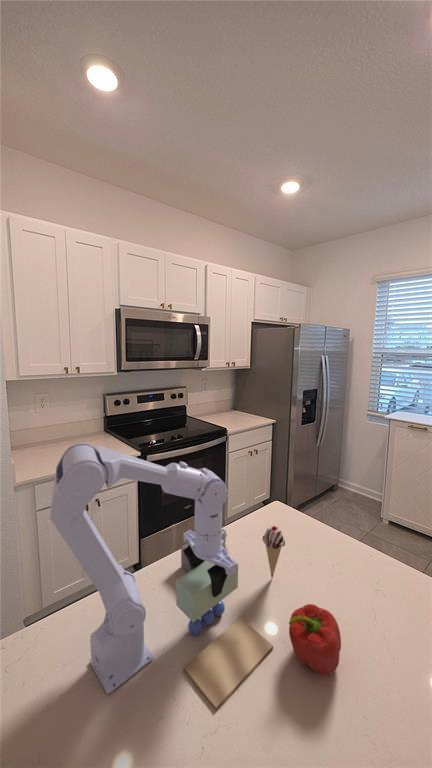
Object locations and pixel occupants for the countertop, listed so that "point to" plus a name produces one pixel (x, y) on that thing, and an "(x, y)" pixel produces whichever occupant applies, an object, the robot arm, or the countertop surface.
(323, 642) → the vegetable
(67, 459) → the robot arm
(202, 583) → the sage cover
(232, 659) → the cork trivet
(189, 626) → the marble
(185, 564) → the gray block
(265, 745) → the countertop surface
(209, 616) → the marble
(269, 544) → the ice cream cone
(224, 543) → the rook chess piece
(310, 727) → the countertop surface
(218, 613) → the marble
